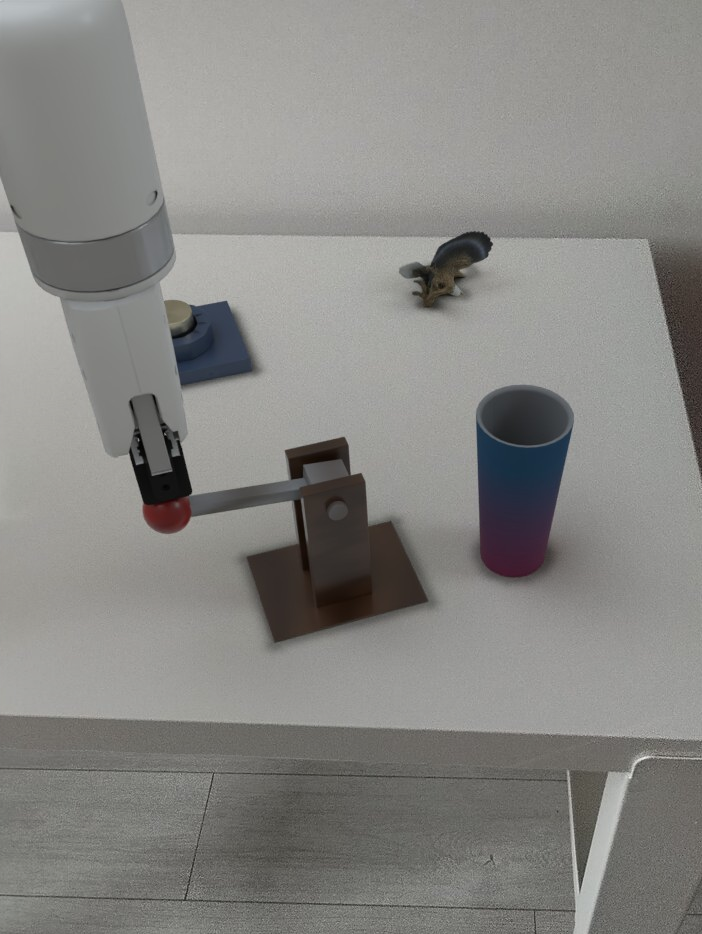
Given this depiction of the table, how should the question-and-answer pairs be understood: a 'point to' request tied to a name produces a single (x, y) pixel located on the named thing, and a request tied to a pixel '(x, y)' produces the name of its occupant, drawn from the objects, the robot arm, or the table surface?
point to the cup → (519, 474)
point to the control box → (211, 346)
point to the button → (179, 318)
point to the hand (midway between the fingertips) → (166, 492)
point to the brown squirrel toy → (448, 265)
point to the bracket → (332, 556)
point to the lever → (236, 498)
